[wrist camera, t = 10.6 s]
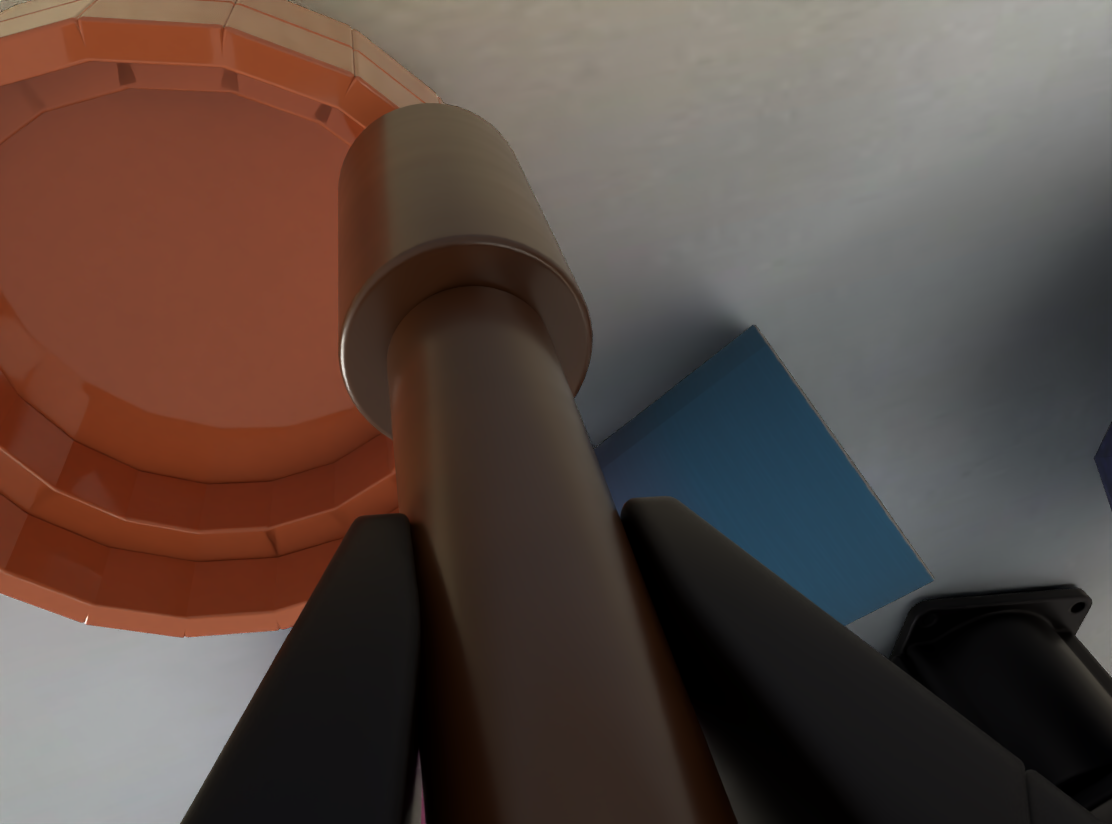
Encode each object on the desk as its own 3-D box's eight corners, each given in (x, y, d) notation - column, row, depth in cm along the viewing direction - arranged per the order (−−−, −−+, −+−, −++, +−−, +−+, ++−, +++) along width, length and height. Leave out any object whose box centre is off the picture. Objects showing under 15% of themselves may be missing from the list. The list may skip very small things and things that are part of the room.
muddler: (527, 103, 14) (1165, 1162, 3) (517, 276, 15) (923, 1382, 5) (333, 98, 13) (312, 1371, 3) (342, 279, 15) (357, 1542, 4)
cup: (430, 726, 29) (851, 459, 25) (430, 946, 23) (977, 638, 20) (267, 604, 26) (724, 279, 22) (219, 823, 20) (828, 429, 16)
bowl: (530, -3, 18) (574, 45, 14) (493, 502, 24) (517, 614, 21) (-214, -54, 15) (-366, -9, 12) (-28, 527, 22) (-93, 659, 18)
